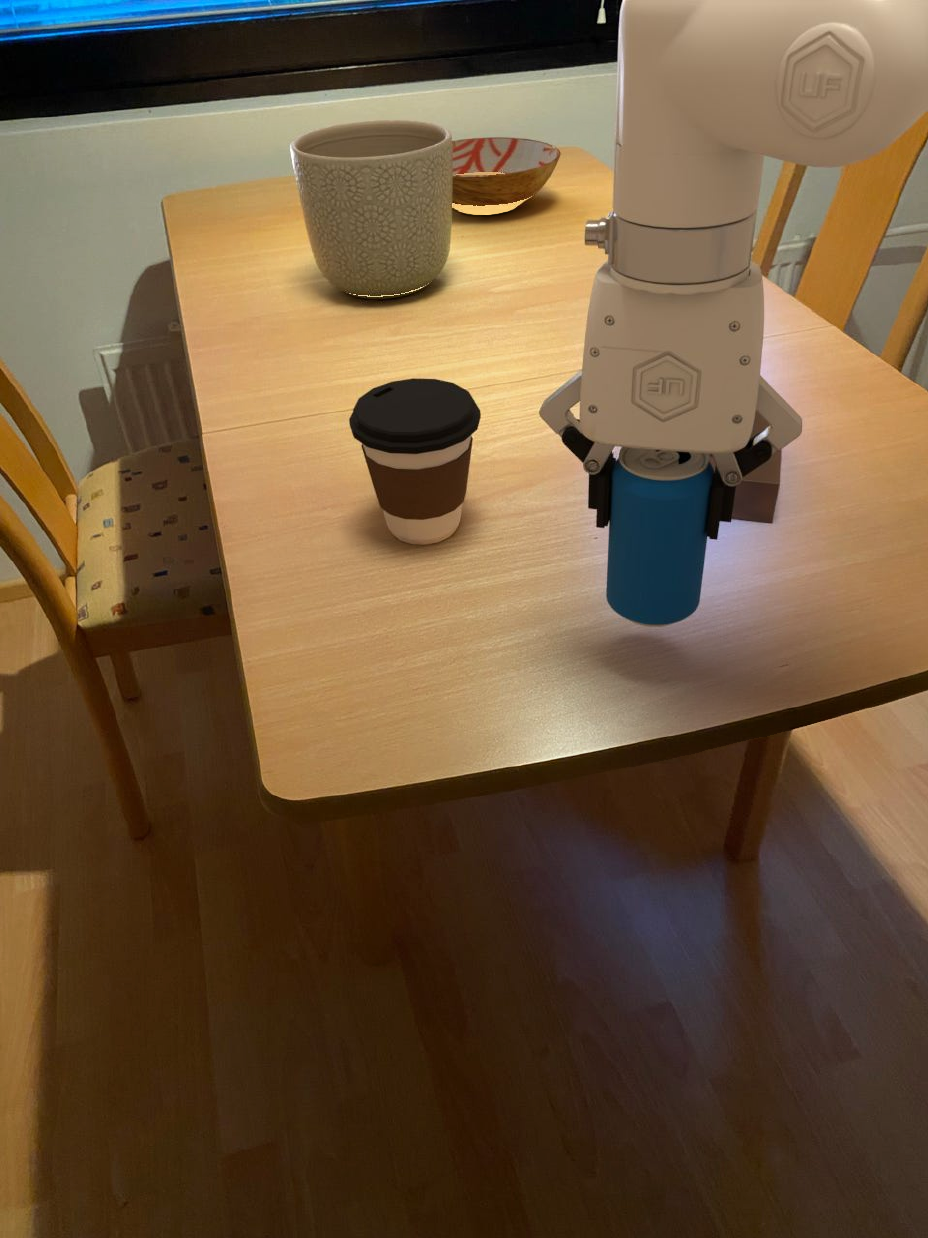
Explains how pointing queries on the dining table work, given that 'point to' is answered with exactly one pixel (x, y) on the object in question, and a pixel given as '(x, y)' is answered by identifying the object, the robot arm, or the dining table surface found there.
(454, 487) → the coffee cup
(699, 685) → the dining table surface
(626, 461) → the beverage can
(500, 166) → the bowl
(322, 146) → the planter
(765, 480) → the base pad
